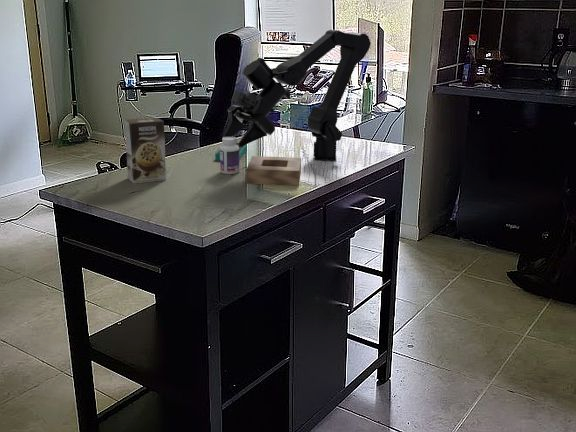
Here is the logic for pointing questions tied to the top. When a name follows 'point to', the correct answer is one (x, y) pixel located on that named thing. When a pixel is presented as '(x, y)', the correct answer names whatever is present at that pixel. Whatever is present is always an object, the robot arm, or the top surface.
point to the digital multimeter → (241, 152)
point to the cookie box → (145, 150)
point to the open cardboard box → (273, 170)
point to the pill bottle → (229, 156)
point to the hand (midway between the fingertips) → (231, 142)
